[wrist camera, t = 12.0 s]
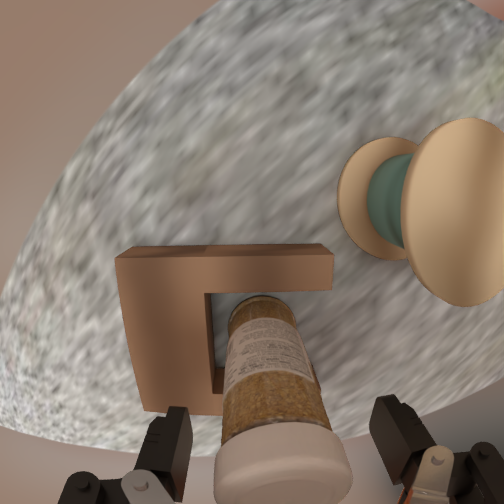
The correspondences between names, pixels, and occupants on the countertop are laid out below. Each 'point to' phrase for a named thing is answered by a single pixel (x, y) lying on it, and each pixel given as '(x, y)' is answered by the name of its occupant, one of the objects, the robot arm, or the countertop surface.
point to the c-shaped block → (199, 310)
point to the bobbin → (433, 207)
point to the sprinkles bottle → (274, 416)
